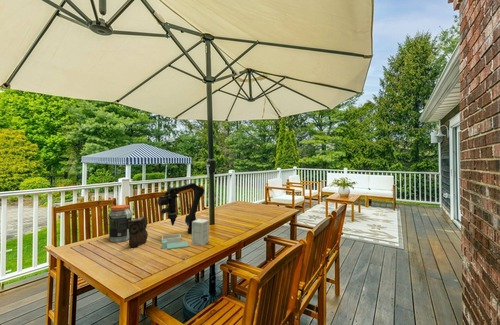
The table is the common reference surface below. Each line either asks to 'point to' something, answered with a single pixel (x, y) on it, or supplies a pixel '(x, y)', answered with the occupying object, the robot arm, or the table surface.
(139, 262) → the table surface
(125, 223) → the supplement tub
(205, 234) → the supplement box
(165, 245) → the lid
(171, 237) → the tub
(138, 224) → the owl
